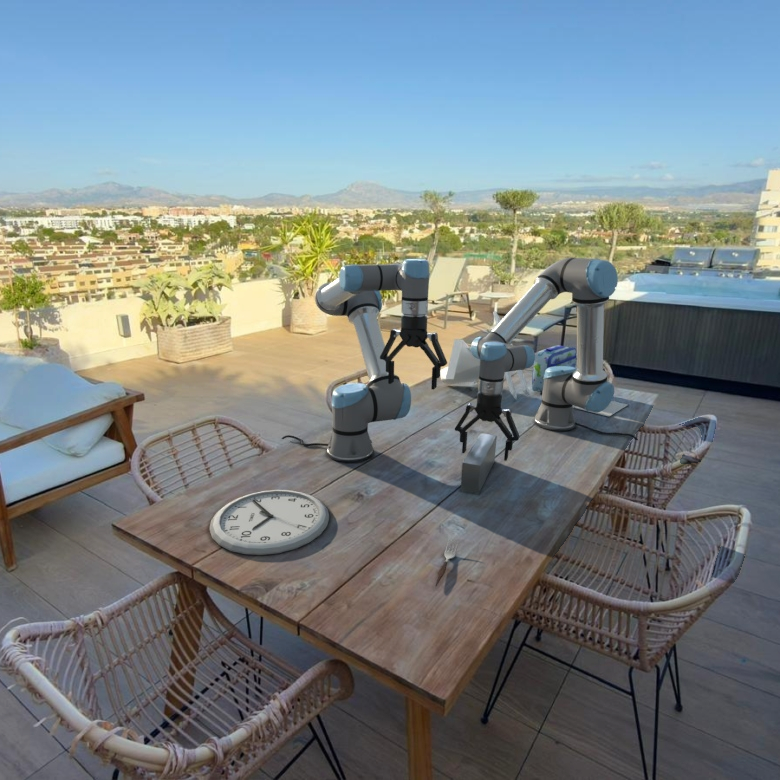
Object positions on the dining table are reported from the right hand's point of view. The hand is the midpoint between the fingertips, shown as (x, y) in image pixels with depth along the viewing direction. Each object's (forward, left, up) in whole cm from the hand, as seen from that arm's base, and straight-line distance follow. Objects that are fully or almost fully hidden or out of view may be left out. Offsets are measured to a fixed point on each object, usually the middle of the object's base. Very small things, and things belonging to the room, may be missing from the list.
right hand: (484, 455), depth 168 cm
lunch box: (-36, -88, -3) cm, 95 cm away
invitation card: (-54, -67, -3) cm, 85 cm away
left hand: (+24, +7, +24) cm, 35 cm away
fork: (+12, +55, -3) cm, 57 cm away
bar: (+2, +8, -3) cm, 9 cm away
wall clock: (+57, +42, -3) cm, 71 cm away
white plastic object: (-2, -78, -3) cm, 79 cm away
